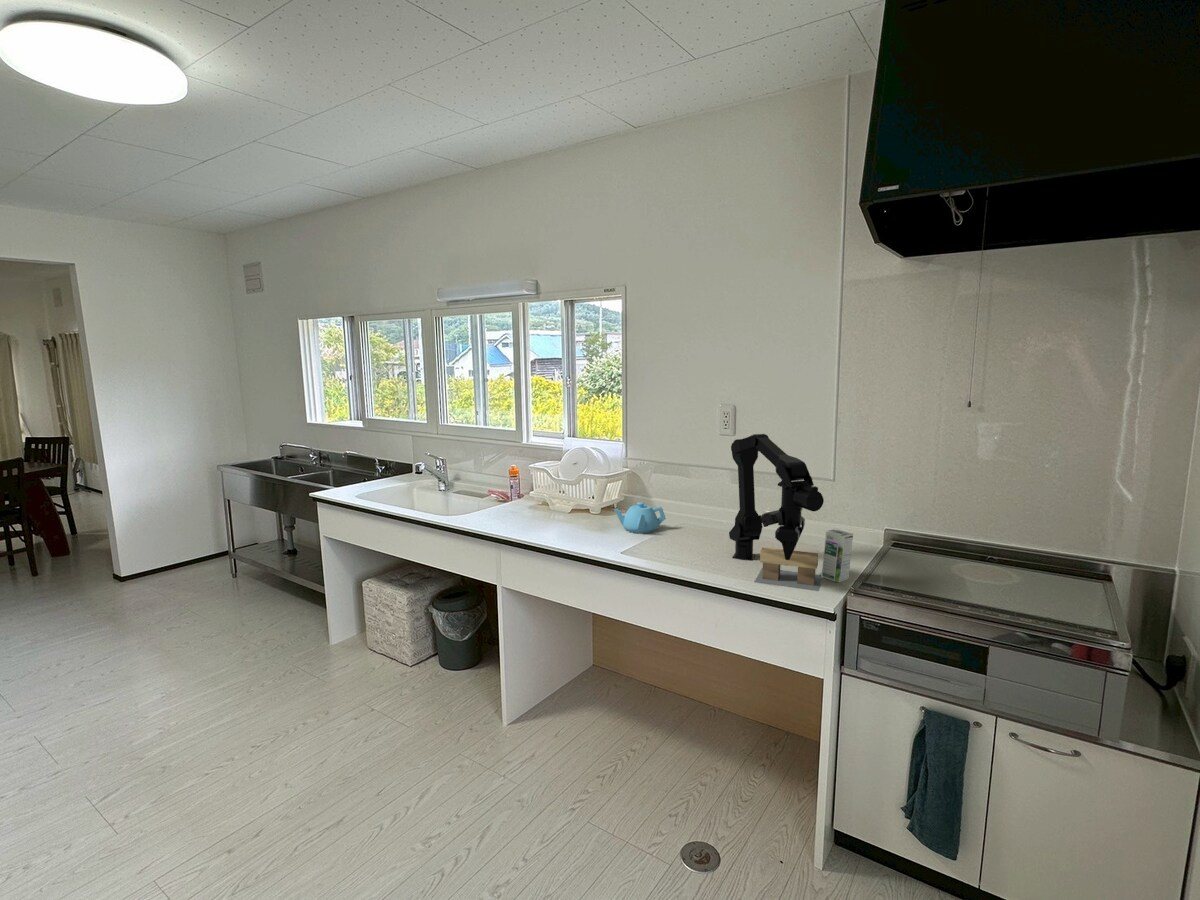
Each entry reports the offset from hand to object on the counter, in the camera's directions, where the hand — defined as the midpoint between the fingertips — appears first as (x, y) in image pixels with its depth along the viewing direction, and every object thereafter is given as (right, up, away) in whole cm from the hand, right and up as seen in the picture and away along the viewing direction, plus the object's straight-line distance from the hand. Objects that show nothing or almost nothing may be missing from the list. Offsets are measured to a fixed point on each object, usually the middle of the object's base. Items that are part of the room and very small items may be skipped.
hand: (789, 555), depth 181 cm
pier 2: (+5, -8, -1) cm, 9 cm away
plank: (0, -2, 0) cm, 3 cm away
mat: (0, -8, +2) cm, 8 cm away
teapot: (-40, 0, +58) cm, 71 cm away
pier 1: (-5, -7, +3) cm, 9 cm away
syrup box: (+14, -8, +2) cm, 16 cm away
